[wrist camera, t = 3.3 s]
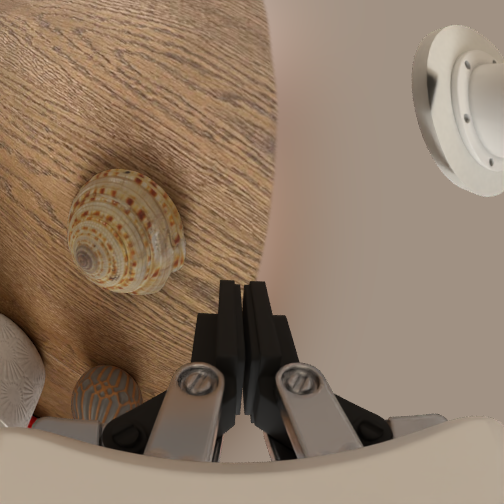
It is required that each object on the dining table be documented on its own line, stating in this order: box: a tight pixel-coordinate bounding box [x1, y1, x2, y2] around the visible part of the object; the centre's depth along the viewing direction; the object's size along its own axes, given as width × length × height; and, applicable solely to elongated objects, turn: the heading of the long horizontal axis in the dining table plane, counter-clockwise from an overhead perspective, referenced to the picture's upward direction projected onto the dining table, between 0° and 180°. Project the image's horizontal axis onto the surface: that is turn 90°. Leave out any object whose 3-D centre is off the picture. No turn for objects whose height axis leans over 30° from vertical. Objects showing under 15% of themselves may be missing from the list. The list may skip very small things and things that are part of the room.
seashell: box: [67, 169, 186, 295], centre depth 16 cm, size 8×6×8 cm
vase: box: [71, 365, 143, 423], centre depth 19 cm, size 7×7×9 cm
